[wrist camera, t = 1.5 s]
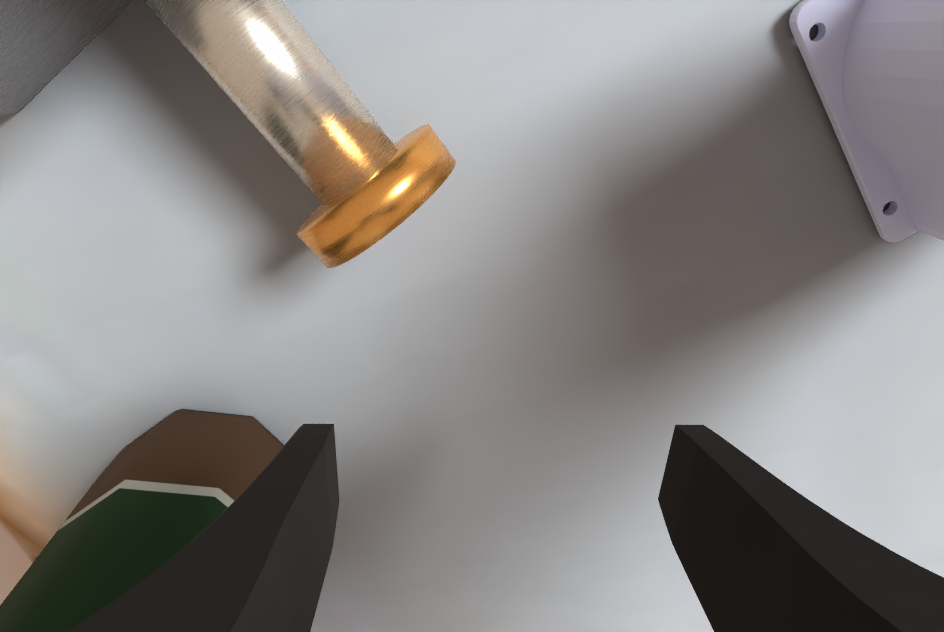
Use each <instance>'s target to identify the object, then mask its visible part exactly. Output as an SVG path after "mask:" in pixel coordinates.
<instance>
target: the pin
mask: <svg viewBox="0 0 944 632" xmlns="http://www.w3.org/2000/svg"><path fill="white" fill-rule="evenodd" d="M144 1H145V2H146V3H147V4H148V5H149V6H150V8H151V9H152V10H153V11H154V12H155V13H156V14H157V16H158V17H159V18H160V19H161V20H162V21H163V22H164V24H165V25H166V26H167V27H168V28H169V29H170V30H171V32H172V33H173V34H174V35H175V36H176V37H177V38H178V39H179V41H180V42H181V43H182V44H183V45H184V46H185V47H186V49H187V50H188V51H189V52H190V53H191V54H192V55H193V57H194V58H195V59H196V60H197V61H198V62H199V63H200V65H201V66H202V67H203V68H204V69H205V70H206V71H207V73H208V74H209V75H210V76H211V77H212V78H213V79H214V81H215V82H216V83H217V84H218V85H219V86H220V87H221V89H222V90H223V91H224V92H225V93H226V94H227V95H228V97H229V98H230V99H231V100H232V101H233V102H234V103H235V105H236V106H237V107H238V108H239V109H240V110H241V111H242V113H243V114H244V115H245V116H246V117H247V118H248V119H249V121H250V122H251V123H252V124H253V125H254V126H255V127H256V129H257V130H258V131H259V132H260V133H261V134H262V135H263V137H264V138H265V139H266V140H267V141H268V142H269V143H270V145H271V146H272V147H273V148H274V149H275V150H276V151H277V152H278V154H279V155H280V156H281V157H282V158H283V159H284V160H285V162H286V163H287V164H288V165H289V166H290V167H291V168H292V170H293V171H294V172H295V173H296V174H297V175H298V176H299V178H300V179H301V180H302V181H303V182H304V183H305V184H306V186H307V187H308V188H309V189H310V190H311V191H312V192H313V194H314V195H315V196H316V197H317V198H318V199H319V200H320V202H321V203H322V205H320V206H319V207H318V208H317V209H316V210H315V211H314V212H313V213H312V214H311V215H310V216H309V217H308V219H307V220H306V221H305V222H304V223H303V224H302V225H301V227H300V228H299V229H298V231H297V233H296V234H297V236H298V237H299V238H300V239H301V240H302V241H303V242H304V243H305V244H306V245H307V246H308V248H309V249H310V250H311V251H312V252H313V253H314V254H315V255H316V256H317V257H318V258H319V259H320V261H321V262H322V263H323V264H324V265H325V266H326V267H328V268H332V267H336V266H338V265H341V264H343V263H345V262H347V261H348V260H350V259H352V258H354V257H355V256H357V255H359V254H360V253H362V252H363V251H365V250H366V249H368V248H369V247H371V246H372V245H373V244H375V243H376V242H377V241H379V240H380V239H382V238H383V237H384V236H386V235H387V234H388V233H389V232H391V231H392V230H393V229H394V228H396V227H397V226H398V225H399V224H401V223H402V222H403V221H404V220H405V219H406V218H408V217H409V216H410V215H411V214H412V213H413V212H414V211H415V210H417V209H418V208H419V207H420V206H421V205H422V204H423V203H424V202H425V201H426V200H427V199H428V198H429V197H430V196H431V195H432V194H433V193H434V192H435V191H436V190H437V189H438V188H439V187H440V186H441V185H442V183H443V182H444V181H445V180H446V179H447V177H448V176H449V175H450V173H451V172H452V170H453V168H454V166H455V164H456V161H455V159H454V158H453V156H452V155H451V154H450V152H449V151H448V150H447V148H446V147H445V146H444V144H443V143H442V142H441V140H440V139H439V138H438V136H437V135H436V133H435V132H434V131H433V129H432V128H431V127H430V125H429V124H427V125H424V126H422V127H420V128H418V129H416V130H414V131H413V132H411V133H410V134H408V135H407V136H405V137H404V138H402V139H401V140H399V141H398V142H397V143H395V144H393V143H392V141H391V140H390V139H389V137H388V136H387V135H386V134H385V132H384V131H383V130H382V128H381V127H380V126H379V125H378V123H377V122H376V121H375V119H374V118H373V117H372V116H371V114H370V113H369V112H368V110H367V109H366V108H365V107H364V105H363V104H362V103H361V101H360V100H359V99H358V98H357V96H356V95H355V94H354V93H353V91H352V90H351V89H350V87H349V86H348V85H347V84H346V82H345V81H344V80H343V78H342V77H341V76H340V75H339V73H338V72H337V71H336V69H335V68H334V67H333V66H332V64H331V63H330V62H329V60H328V59H327V58H326V57H325V55H324V54H323V53H322V51H321V50H320V49H319V48H318V46H317V45H316V44H315V42H314V41H313V40H312V39H311V37H310V36H309V35H308V34H307V32H306V31H305V30H304V28H303V27H302V26H301V25H300V23H299V22H298V21H297V19H296V18H295V17H294V16H293V14H292V13H291V12H290V10H289V9H288V8H287V7H286V5H285V4H284V3H283V1H282V0H144Z"/></svg>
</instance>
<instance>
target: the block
mask: <svg viewBox="0 0 944 632" xmlns="http://www.w3.org/2000/svg"><path fill="white" fill-rule="evenodd" d="M131 1H132V0H0V115H5V114H11V113H17V112H19V111H20V110H21V109H22V108H23V107H24V106H25V105H26V104H27V103H28V102H29V101H30V100H31V99H32V98H33V97H34V96H35V95H36V94H37V93H38V92H39V91H41V90H42V89H43V88H44V87H45V86H46V85H47V84H48V83H49V82H50V81H51V80H52V79H53V78H54V77H55V76H56V75H57V74H58V73H59V72H60V71H61V70H62V69H63V68H64V67H65V66H66V65H67V64H68V63H69V62H70V61H71V60H72V59H73V58H74V57H75V56H76V55H77V54H78V53H79V52H80V51H81V50H82V49H83V48H84V47H85V46H86V45H87V44H88V43H89V42H90V41H91V40H92V39H93V38H94V37H95V36H96V35H97V34H98V33H99V32H100V31H101V30H102V29H103V28H104V27H106V26H107V25H108V24H109V23H110V22H111V21H112V20H113V19H114V18H115V17H116V16H117V15H118V14H119V13H120V12H121V11H122V10H123V9H124V8H125V7H126V6H127V5H128V4H129V3H130V2H131Z"/></svg>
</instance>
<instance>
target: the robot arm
mask: <svg viewBox="0 0 944 632" xmlns="http://www.w3.org/2000/svg"><path fill="white" fill-rule="evenodd" d="M789 24H790V29H791V31H792V34H793V36H794V38H795V41H796V43H797V45H798V48H799V50H800V52H801V55H802V57H803V59H804V61H805V64H806V66H807V68H808V71H809V73H810V75H811V78H812V80H813V82H814V85H815V87H816V89H817V92H818V94H819V96H820V99H821V101H822V103H823V106H824V108H825V110H826V112H827V115H828V117H829V119H830V122H831V124H832V126H833V129H834V131H835V133H836V136H837V138H838V140H839V143H840V145H841V147H842V150H843V152H844V154H845V157H846V159H847V161H848V163H849V166H850V168H851V170H852V173H853V175H854V177H855V180H856V182H857V184H858V187H859V189H860V191H861V194H862V196H863V198H864V201H865V203H866V205H867V208H868V210H869V212H870V214H871V217H872V219H873V221H874V224H875V226H876V228H877V231H878V233H879V235H880V237H881V238H882V239H884V240H886V241H889V242H891V243H896V242H899V241H902V240H904V239H905V238H907V237H909V236H910V235H912V234H914V233H915V232H917V231H922V232H924V233H927V234H929V235H932V236H934V237H937V238H939V239H942V240H944V0H803V1H802V2H800V3H799V4H798V5H797V6H796V7H795V8H794V9H793V11H792V13H791V15H790V20H789ZM814 24H816V25H817V26H818V31H819V32H818V34H817V37H816V38H815V39H814V40H811V39H810V38H809V32H810V29H811V28H812V26H813V25H814ZM888 202H890V206H889V208H888V209H887V210H886V211H885V212H883V208H884V206H885V205H886V204H887V203H888ZM658 500H659V504H660V507H661V510H662V513H663V517H664V520H665V523H666V526H667V529H668V532H669V535H670V538H671V541H672V544H673V546H674V548H675V550H676V552H677V555H678V557H679V559H680V561H681V563H682V565H683V567H684V570H685V572H686V574H687V576H688V578H689V580H690V582H691V584H692V586H693V589H694V591H695V593H696V595H697V597H698V599H699V601H700V603H701V605H702V607H703V609H704V611H705V614H706V616H707V618H708V620H709V622H710V624H711V626H712V628H713V630H714V632H944V578H943V577H941V576H939V575H937V574H935V573H933V572H931V571H929V570H927V569H925V568H923V567H921V566H919V565H917V564H915V563H913V562H911V561H909V560H907V559H906V558H904V557H902V556H900V555H898V554H896V553H894V552H893V551H891V550H889V549H887V548H886V547H884V546H882V545H880V544H879V543H877V542H875V541H873V540H872V539H870V538H868V537H866V536H865V535H863V534H861V533H860V532H858V531H856V530H855V529H853V528H851V527H850V526H848V525H846V524H845V523H843V522H842V521H840V520H838V519H837V518H835V517H834V516H832V515H831V514H829V513H828V512H826V511H825V510H823V509H822V508H820V507H819V506H817V505H815V504H814V503H812V502H811V501H809V500H808V499H806V498H805V497H804V496H802V495H801V494H799V493H798V492H796V491H795V490H793V489H792V488H791V487H789V486H788V485H786V484H785V483H783V482H782V481H781V480H779V479H778V478H777V477H775V476H774V475H772V474H771V473H770V472H768V471H767V470H765V469H764V468H763V467H761V466H760V465H759V464H757V463H756V462H755V461H753V460H752V459H751V458H749V457H748V456H746V455H745V454H744V453H742V452H741V451H740V450H738V449H737V448H736V447H734V446H733V445H732V444H730V443H729V442H727V441H726V440H725V439H723V438H722V437H720V436H719V435H718V434H716V433H715V432H713V431H712V430H710V429H709V428H707V427H706V426H704V425H675V429H674V433H673V437H672V442H671V446H670V450H669V455H668V459H667V463H666V467H665V472H664V476H663V480H662V485H661V489H660V493H659V497H658ZM338 505H339V492H338V478H337V463H336V448H335V434H334V424H303V425H302V426H301V427H300V428H299V429H298V430H297V431H296V432H295V434H294V435H293V436H292V437H291V438H290V440H289V441H288V442H287V443H286V444H285V446H284V447H283V448H282V449H281V450H280V452H279V453H278V454H277V455H276V456H275V457H274V459H273V460H272V461H271V462H270V463H269V464H268V466H267V467H266V468H265V469H264V470H263V471H262V472H261V473H260V474H259V475H258V477H257V478H256V479H255V480H254V481H253V482H252V483H251V484H250V485H249V486H248V487H247V489H246V490H245V491H244V492H243V493H242V494H241V495H240V496H239V497H238V498H237V499H236V500H235V501H234V502H233V503H232V504H231V505H230V506H229V507H228V508H227V509H226V510H225V511H224V512H223V513H222V514H221V515H220V516H219V517H218V518H217V519H216V520H215V521H213V522H212V523H211V524H210V525H209V526H208V527H207V528H206V529H205V530H204V531H203V532H202V533H200V534H199V535H198V536H197V537H196V538H195V539H194V540H193V541H191V542H190V543H189V544H188V545H187V546H186V547H184V548H183V549H182V550H181V551H180V552H178V553H177V554H176V555H175V556H174V557H172V558H171V559H170V560H169V561H168V562H166V563H165V564H164V565H162V566H161V567H160V568H158V569H157V570H156V571H154V572H153V573H152V574H150V575H149V576H148V577H146V578H145V579H143V580H142V581H141V582H139V583H138V584H137V585H135V586H134V587H132V588H131V589H130V590H128V591H127V592H126V593H124V594H123V595H121V596H120V597H119V598H117V599H116V600H114V601H113V602H111V603H110V604H108V605H107V606H105V607H104V608H102V609H101V610H99V611H98V612H96V613H95V614H93V615H92V616H90V617H89V618H87V619H86V620H84V621H82V622H81V623H79V624H78V625H76V626H74V627H73V628H71V629H70V630H68V631H66V632H310V630H311V626H312V622H313V619H314V615H315V611H316V608H317V604H318V600H319V596H320V593H321V589H322V585H323V581H324V578H325V574H326V570H327V566H328V562H329V559H330V555H331V551H332V547H333V540H334V534H335V527H336V520H337V513H338Z"/></svg>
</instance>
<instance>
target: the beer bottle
mask: <svg viewBox="0 0 944 632" xmlns="http://www.w3.org/2000/svg"><path fill="white" fill-rule="evenodd" d="M283 447H284V445H283V444H282V443H281V442H280V441H279V440H278V439H277V438H276V437H275V436H274V435H272V434H271V433H270V432H269V431H268V430H267V429H266V428H265V427H264V426H263V425H262V424H260V423H259V422H258V421H257V420H256V419H255V418H254V417H252V416H243V415H233V414H224V413H215V412H205V411H196V410H187V409H181V410H177V411H175V412H174V413H173V414H171V415H170V416H168V417H167V418H165V419H164V420H163V421H161V422H160V423H158V424H157V425H156V426H154V427H153V428H151V429H150V430H149V431H147V432H146V433H144V434H143V435H142V436H140V437H139V438H137V439H136V440H134V441H133V442H132V443H130V444H129V445H127V446H126V447H125V448H124V449H123V450H122V451H121V452H120V453H119V455H118V456H117V457H116V458H115V459H114V460H113V461H112V462H111V464H110V465H109V466H108V467H107V468H106V469H105V470H104V472H103V473H102V474H101V475H100V476H99V477H98V479H97V480H96V481H95V483H94V484H93V485H92V487H91V488H90V489H89V490H88V492H87V493H86V494H85V496H84V497H83V498H82V500H81V501H80V502H79V504H78V505H77V506H76V507H75V509H74V510H73V511H72V513H71V514H70V515H69V517H68V518H67V519H66V521H65V522H64V523H63V524H62V526H61V527H60V528H59V530H58V531H57V532H56V534H55V535H54V536H53V538H52V539H51V540H50V541H49V543H48V544H47V545H46V547H45V548H44V549H43V551H42V552H41V553H40V555H39V556H38V557H37V558H36V560H35V561H34V562H33V564H32V565H31V566H30V568H29V569H28V570H27V572H26V573H25V574H24V575H23V577H22V578H21V579H20V581H19V582H18V583H17V585H16V586H15V587H14V589H13V590H12V591H11V592H10V594H9V595H8V596H7V598H6V599H5V600H4V602H3V603H2V604H1V605H0V632H66V631H68V630H70V629H71V628H73V627H74V626H76V625H78V624H79V623H81V622H82V621H84V620H86V619H87V618H89V617H90V616H92V615H93V614H95V613H96V612H98V611H99V610H101V609H102V608H104V607H105V606H107V605H108V604H110V603H111V602H113V601H114V600H116V599H117V598H119V597H120V596H121V595H123V594H124V593H126V592H127V591H128V590H130V589H131V588H132V587H134V586H135V585H137V584H138V583H139V582H141V581H142V580H143V579H145V578H146V577H148V576H149V575H150V574H152V573H153V572H154V571H156V570H157V569H158V568H160V567H161V566H162V565H164V564H165V563H166V562H168V561H169V560H170V559H171V558H172V557H174V556H175V555H176V554H177V553H178V552H180V551H181V550H182V549H183V548H184V547H186V546H187V545H188V544H189V543H190V542H191V541H193V540H194V539H195V538H196V537H197V536H198V535H199V534H200V533H202V532H203V531H204V530H205V529H206V528H207V527H208V526H209V525H210V524H211V523H212V522H213V521H215V520H216V519H217V518H218V517H219V516H220V515H221V514H222V513H223V512H224V511H225V510H226V509H227V508H228V507H229V506H230V505H231V504H232V503H233V502H234V501H235V500H236V499H237V498H238V497H239V496H240V495H241V494H242V493H243V492H244V491H245V490H246V489H247V487H248V486H249V485H250V484H251V483H252V482H253V481H254V480H255V479H256V478H257V477H258V475H259V474H260V473H261V472H262V471H263V470H264V469H265V468H266V467H267V466H268V464H269V463H270V462H271V461H272V460H273V459H274V457H275V456H276V455H277V454H278V453H279V452H280V450H281V449H282V448H283Z"/></svg>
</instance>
